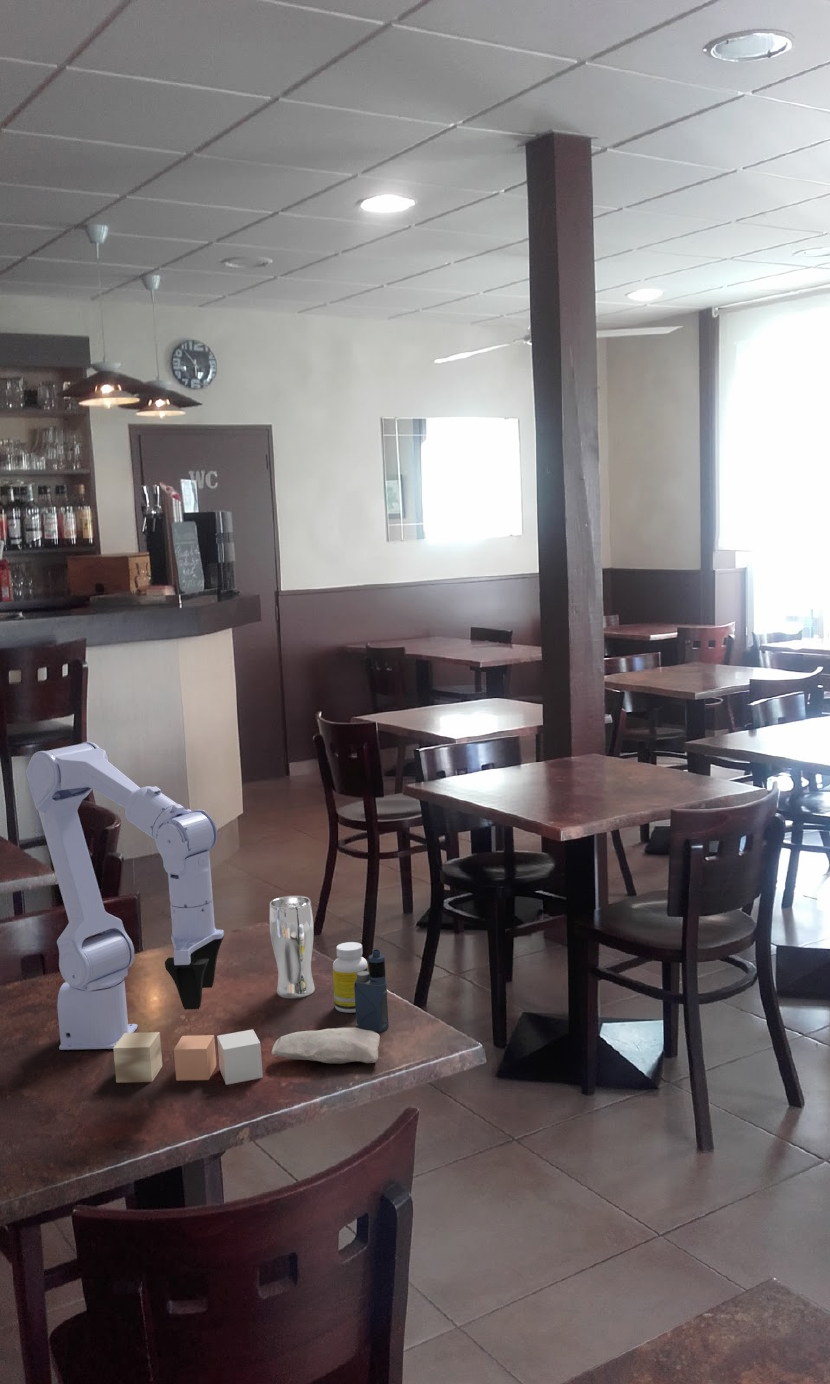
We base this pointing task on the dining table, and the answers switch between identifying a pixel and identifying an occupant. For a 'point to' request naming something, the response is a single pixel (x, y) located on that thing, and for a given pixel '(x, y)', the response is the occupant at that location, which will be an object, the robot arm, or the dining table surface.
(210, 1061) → the terracotta cube
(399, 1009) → the dining table surface
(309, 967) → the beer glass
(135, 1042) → the birch cube
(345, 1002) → the supplement bottle
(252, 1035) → the white cube
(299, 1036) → the decorative stone
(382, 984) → the vaping device
